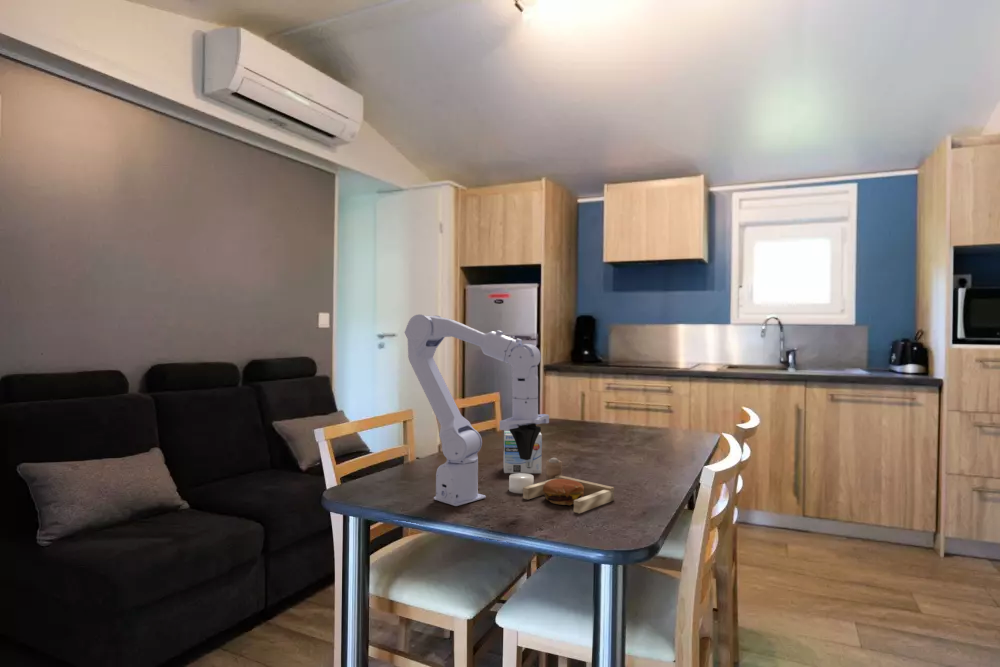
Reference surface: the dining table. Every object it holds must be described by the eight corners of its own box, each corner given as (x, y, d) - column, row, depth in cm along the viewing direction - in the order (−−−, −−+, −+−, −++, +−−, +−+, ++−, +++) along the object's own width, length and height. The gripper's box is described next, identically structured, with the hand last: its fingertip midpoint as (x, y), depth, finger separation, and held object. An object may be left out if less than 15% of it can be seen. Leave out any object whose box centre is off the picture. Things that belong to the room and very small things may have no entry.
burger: (553, 493, 136) (553, 473, 136) (590, 498, 132) (590, 478, 132) (536, 504, 128) (536, 483, 128) (575, 510, 123) (575, 489, 123)
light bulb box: (503, 473, 155) (503, 434, 155) (502, 468, 161) (502, 430, 161) (542, 473, 155) (542, 434, 155) (540, 467, 162) (540, 430, 162)
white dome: (522, 495, 134) (522, 480, 134) (504, 490, 138) (504, 476, 138) (538, 490, 138) (538, 476, 138) (520, 485, 143) (520, 472, 143)
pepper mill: (555, 488, 140) (555, 460, 140) (542, 485, 143) (542, 457, 143) (565, 485, 143) (565, 457, 143) (552, 482, 146) (552, 455, 146)
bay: (579, 513, 120) (579, 499, 120) (523, 498, 131) (523, 485, 131) (614, 500, 130) (614, 487, 130) (558, 487, 141) (559, 475, 141)
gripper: (516, 402, 118) (516, 467, 118) (559, 396, 128) (559, 456, 128) (492, 399, 123) (492, 462, 123) (535, 394, 133) (535, 452, 133)
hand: (525, 458), depth 126 cm, fingers closed
